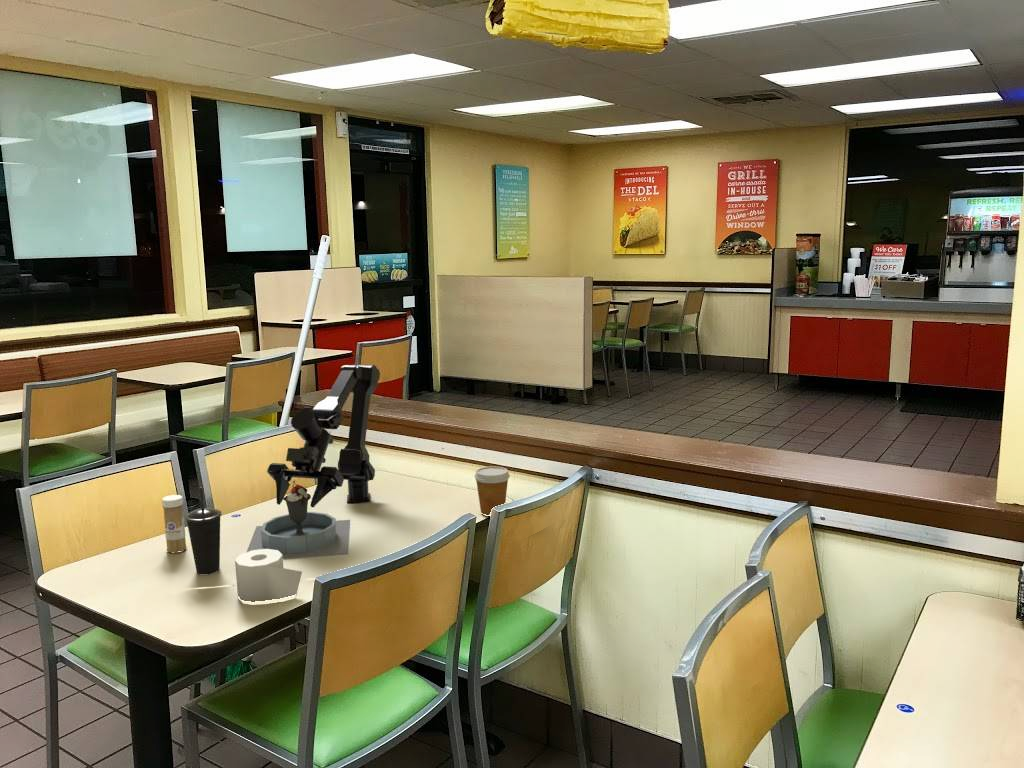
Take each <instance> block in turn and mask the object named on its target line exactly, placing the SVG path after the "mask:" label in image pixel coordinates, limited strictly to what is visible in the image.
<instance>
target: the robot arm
mask: <svg viewBox="0 0 1024 768" xmlns="http://www.w3.org/2000/svg"><path fill="white" fill-rule="evenodd" d="M380 372H381V371H380V369H379V368H377V365H375V364H345V365H342V366H341V367H340V372H339V375H338V376H337V378H336V380H335V382H334V383H333V385H332V387H331V389H330V390H329V392H328V394H327V396H326V397H325V398H324V399H323V400H320V401H319V402H317V403H316V405H315V406H314V407H313V408H312V407H310V406H308V407H307V406H305V407H303V408H302V410H300V411H298V412H297V413H295V414H294V415H293V416H292V418H291V421H290V425H291V427H293V429H294V430H295V432H296V433H297V434H298V436H299V437H300V438H301V439H302V440H303V441H305V442H304V444H303V446H302V447H299V448H296V447H295V448H293V447H287V452H286V457H285V461H286V462H290V463H291V465H292V467H294V468H293V469H292V468H289V467H288V466H287V465H286V464H285V463H280V462H278V463H277V462H271V463H270V464H269V465H268V467H267V470H266V473H267V474H268V475H270V477H271V478H272V479H273V481H275V485H276V486H275V488H276V490H275V491H276V504H277V505H281V504H282V502H283V501H284V500H283V498H285V497H286V494H287V492H288V490H289V487H290V486H291V484H290V483H289V482H291V481H292V478H299V479H301V478H302V479H314V480H317V483H316V487H315V490H314V493H313V495H312V497H311V501H310V507H311V508H315V507H316V506H317V505H318V503H319V502H321V500H323V498H325V496H327V495H328V494H329V493H330V492H332V491H333V490H336V489H337V488H338V487H339V488H340V487H343V484H344V480H345V481H346V480H347V491H348V492H347V495H346V496H347V497H346V503H348V504H349V503H364V502H365V503H366V502H368V503H369V502H370V501H371V492H369V481H373V480H374V478H375V475H376V469H375V468H374V467H373V464H372V463H371V462H370V454H369V452H368V450H367V448H366V441H367V440H366V438H367V432H368V431H367V428H368V421H369V410H370V404H371V403H370V402H371V396H372V395H373V393H374V392H375V391H376V390H377V388H378V386H379V385H378V384H379V381H380V377H381V373H380ZM351 392H352V393H353V396H352V404H351V413H350V423H349V429H348V437H347V438H348V439H347V444H346V446H345V447H344V448H340V450H339V458H338V461H337V466H322V464H325V463H326V458H325V455H326V452H327V450H328V447H329V445H330V444H331V445H332V444H334V440H333V438H332V436H331V434H332V433H329V430H337V429H339V427H340V425H341V423H342V421H343V418H344V414H343V413H344V412H343V407H344V405H345V404H346V402H347V400H348V398H349V396H350V394H351ZM327 430H328V431H327Z"/></svg>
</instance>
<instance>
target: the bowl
mask: <svg viewBox="0 0 1024 768" xmlns="http://www.w3.org/2000/svg"><path fill="white" fill-rule="evenodd" d="M336 521H337V519H336V518H335V517H333V516H332V515H330V514H328V513H325V512H324V513H323V512H316V511H315V512H314V511H307V517H306V519H305V520H304V521H303V522H302V523H301V527H302V531H303V532H308V533H309V534H308V535H301V536H290V535H291V534H293V533H295V532H296V530H297V525H296V523H295V522H293V521H292V520H291V519H290V516H289V513H287V514H284V515H280V516H275V517H273V518H271V519H269V520H267V521H266V522H264V523H263V524H262V525H261V526H262V529H261V537H262V546H263V547H264V548H266V549H272V550H278V551H279V552H280V553H285V554H291V553H304V552H310V551H313V550H317V549H320V548H324V547H326V546H328V545H329V544H331V543H332V542H334V541H335V540H336Z"/></svg>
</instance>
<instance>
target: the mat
mask: <svg viewBox="0 0 1024 768" xmlns="http://www.w3.org/2000/svg"><path fill="white" fill-rule="evenodd" d="M262 526H263V525H256V527H255V528H254V532H253V535H252V536H251V539H250V542H249V544H248V547H247V550H246V552H249V551H252V550H259V549H266V548H264V547H263V546H262V537H261V529H262ZM350 526H351V519H341V520H340V519H339V520H336V540H335V541H334V542H332V543H331V544H329V545H328V546H326V547H324V548H320V549H317V550H313V551H310V552H304V553H291V554H285V553H281V554H282V555H283V560H292V559H293V560H294V559H306V558H307V559H308V558H319V557H330V556H331V557H333V556H343V555H345V556H346V555H349V546H350V543H349V542H350V529H351V527H350Z"/></svg>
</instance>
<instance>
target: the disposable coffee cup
mask: <svg viewBox="0 0 1024 768" xmlns="http://www.w3.org/2000/svg"><path fill="white" fill-rule="evenodd" d="M510 475H511V474H510V473H509V471H508V468H505V467H501V466H490V465H489V466H483V467H480V468H477V469H476V470H475V474H474V476H473V477H474V479H475V481H476V488H477V494H478V495H477V496H478V501H479V507H480V514H481V513H483V514H486V515H489V514H490V512H491V509H492V508H493V507H495V506H498V505H501V504H504V503H505V504H506V500H507V492H508V491H507V490H508V482H509V478H510V477H511V476H510Z"/></svg>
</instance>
